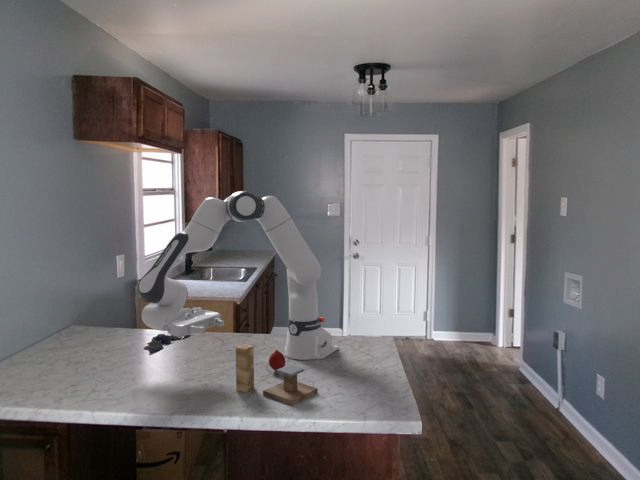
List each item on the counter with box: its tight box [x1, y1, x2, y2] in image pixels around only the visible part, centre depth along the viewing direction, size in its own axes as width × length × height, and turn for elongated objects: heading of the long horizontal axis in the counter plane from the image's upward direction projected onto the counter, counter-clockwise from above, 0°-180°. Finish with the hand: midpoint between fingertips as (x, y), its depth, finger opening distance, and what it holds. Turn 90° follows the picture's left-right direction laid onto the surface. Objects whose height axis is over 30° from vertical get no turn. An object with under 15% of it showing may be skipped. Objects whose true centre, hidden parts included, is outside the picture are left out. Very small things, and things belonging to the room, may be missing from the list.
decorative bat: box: [142, 333, 189, 353], centre depth 218 cm, size 30×4×10 cm
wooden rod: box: [235, 343, 255, 393], centre depth 168 cm, size 4×4×14 cm
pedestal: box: [262, 364, 319, 406], centre depth 165 cm, size 12×12×8 cm
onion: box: [268, 348, 286, 373], centre depth 184 cm, size 6×6×8 cm
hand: (213, 326), depth 173 cm, fingers open, 8 cm apart
